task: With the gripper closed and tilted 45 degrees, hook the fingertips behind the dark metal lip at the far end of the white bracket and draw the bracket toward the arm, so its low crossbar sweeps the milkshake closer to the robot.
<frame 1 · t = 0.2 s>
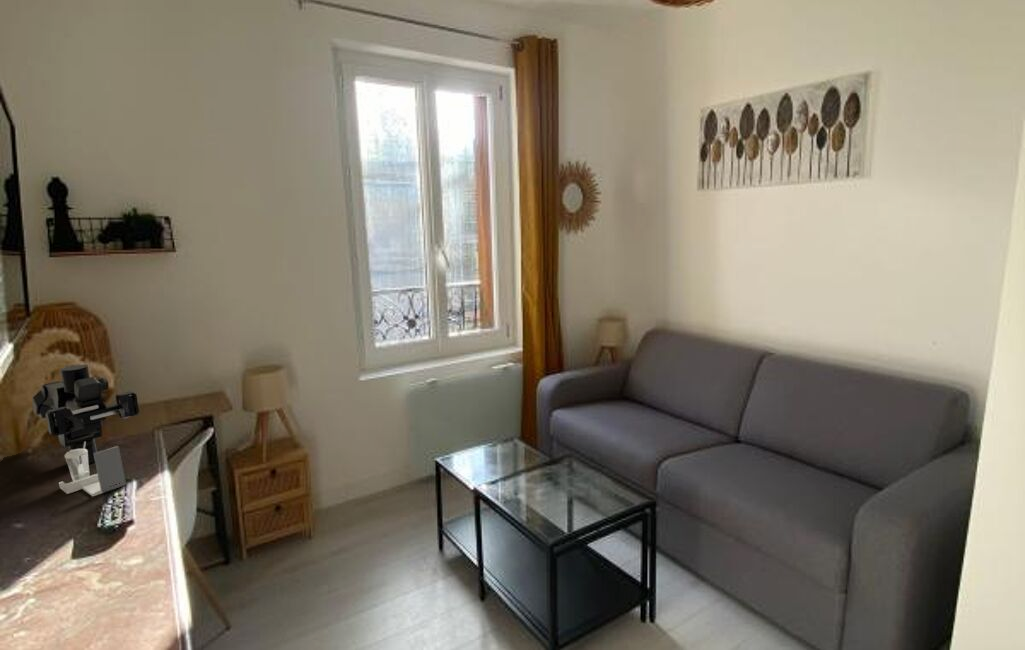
hand: (106, 420, 135), 17 cm above the table, tool horizontal, fingers open, 9 cm apart
white bracket: (89, 467, 136), point 5 cm above the table, slide at 0.0 cm
milkshake: (84, 483, 140), on the table
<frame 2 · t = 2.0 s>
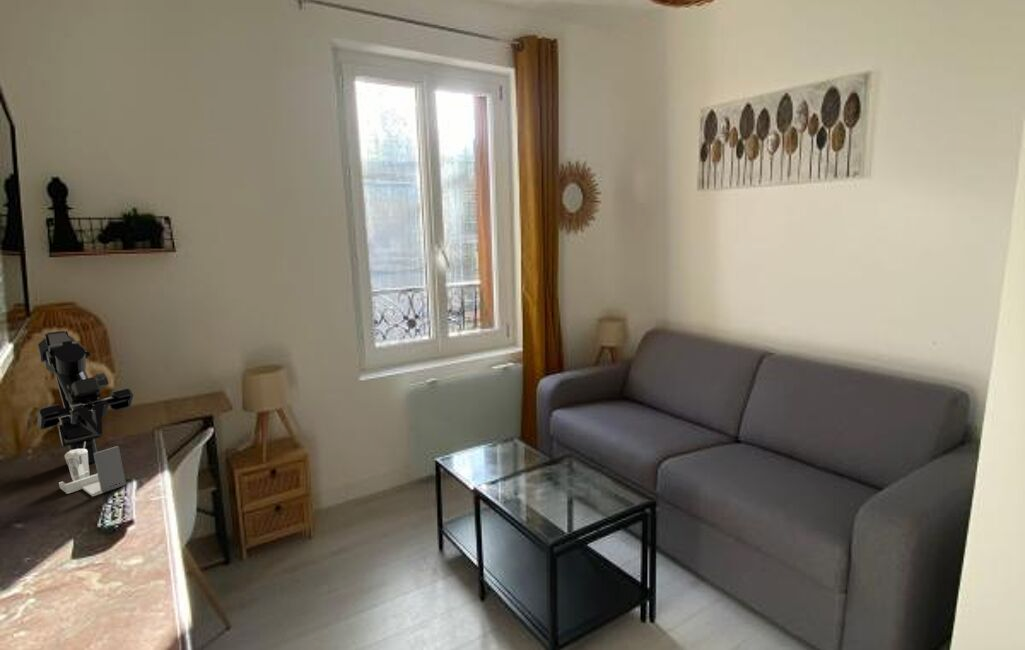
hand: (100, 434, 134), 14 cm above the table, tool tilted 45°, fingers closed
nothing on the table moved.
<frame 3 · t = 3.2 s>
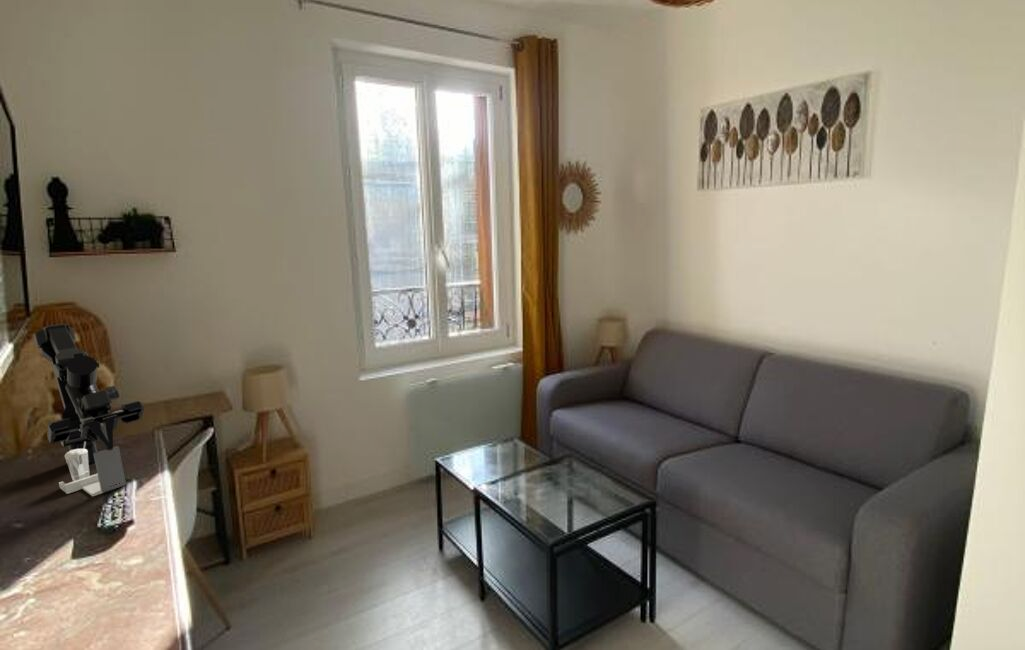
hand: (111, 449, 131), 11 cm above the table, tool tilted 45°, fingers closed
nothing on the table moved.
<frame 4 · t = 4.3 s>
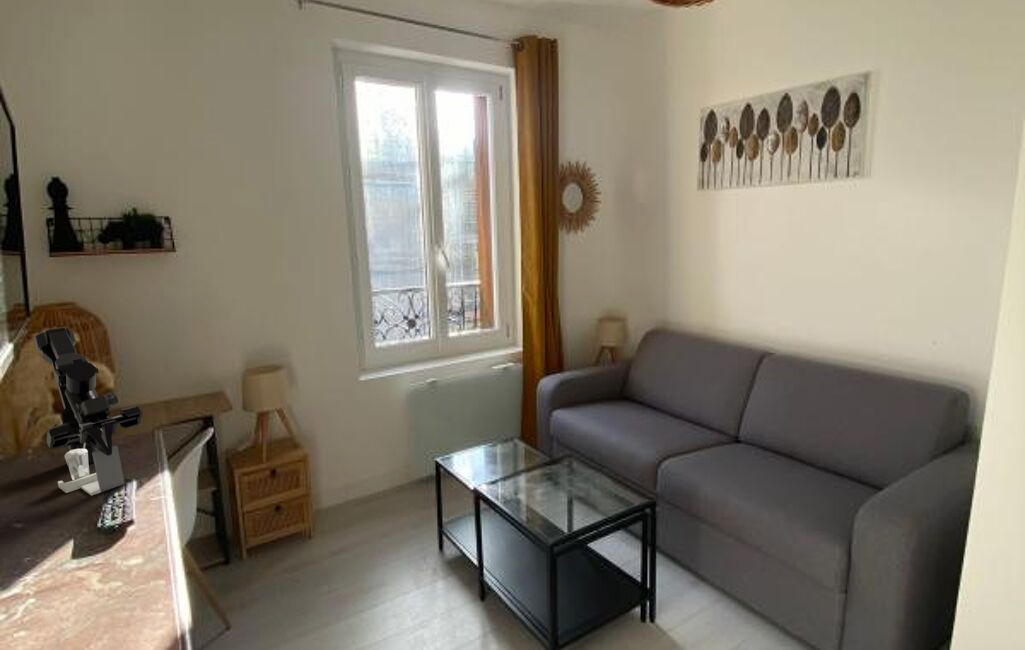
hand: (110, 454, 132), 9 cm above the table, tool tilted 45°, fingers closed, pressing on white bracket
white bracket: (87, 466, 137), point 5 cm above the table, slide at 0.9 cm, touching gripper
everything else where it was.
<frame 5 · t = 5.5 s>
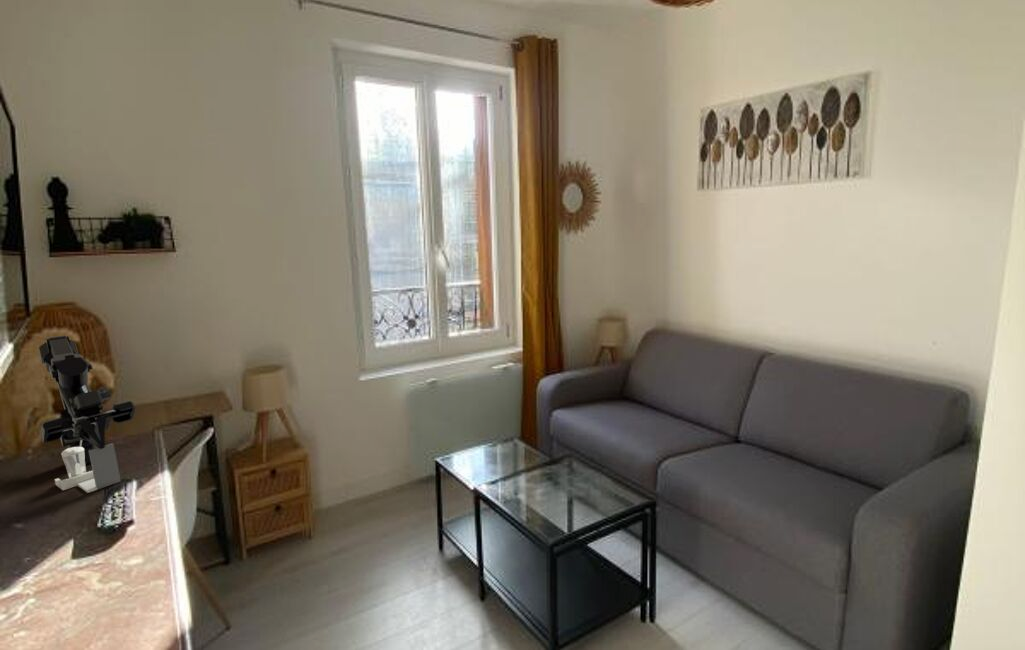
hand: (102, 447, 135), 10 cm above the table, tool tilted 45°, fingers closed, pressing on white bracket
white bracket: (84, 464, 138), point 5 cm above the table, slide at 3.5 cm, touching gripper, milkshake
milkshake: (80, 481, 141), on the table, touching white bracket
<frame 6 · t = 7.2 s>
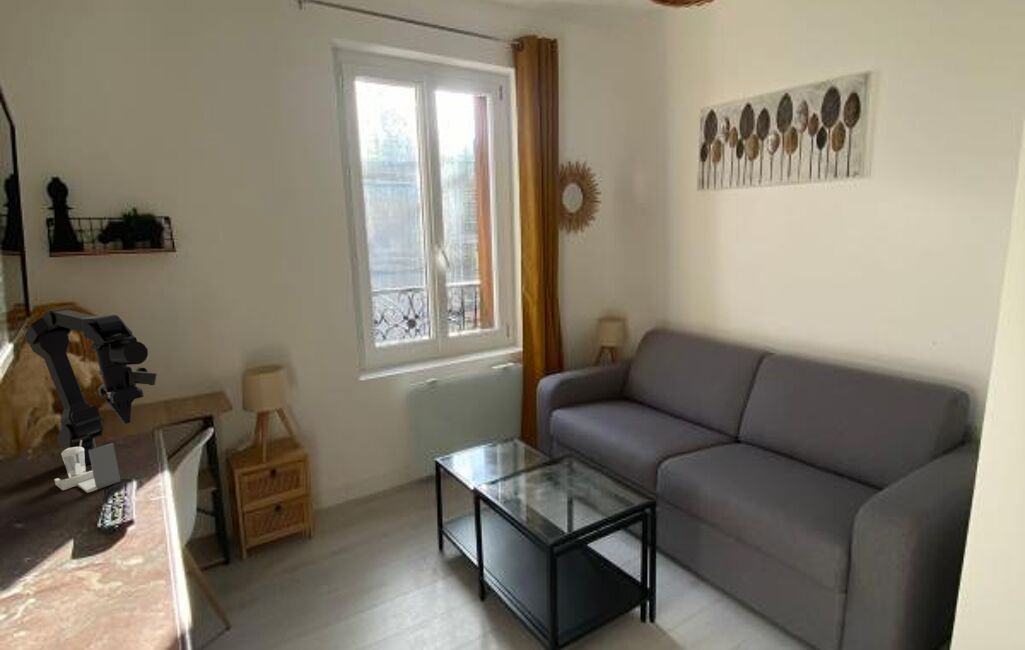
hand: (127, 423, 143), 13 cm above the table, tool pointing down, fingers closed
white bracket: (84, 464, 138), point 5 cm above the table, slide at 3.6 cm
milkshake: (80, 481, 141), on the table
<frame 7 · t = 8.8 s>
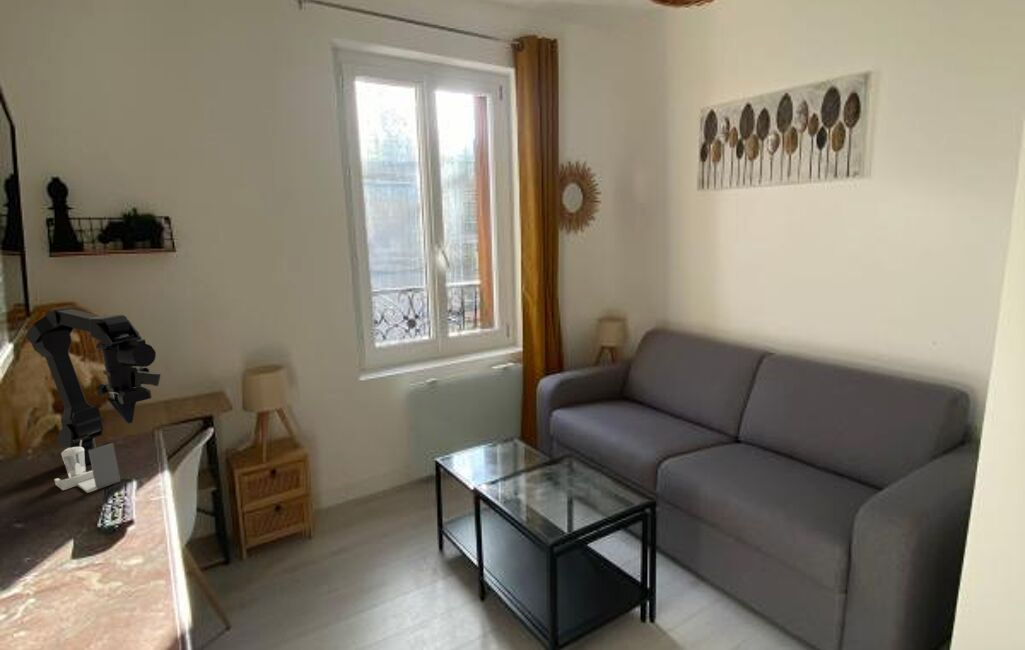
hand: (129, 422, 144), 13 cm above the table, tool pointing down, fingers closed
nothing on the table moved.
at the end: white bracket slide at 3.6 cm; milkshake inside the target area (4.5 cm from its centre), on the table; milkshake tilted 0° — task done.
